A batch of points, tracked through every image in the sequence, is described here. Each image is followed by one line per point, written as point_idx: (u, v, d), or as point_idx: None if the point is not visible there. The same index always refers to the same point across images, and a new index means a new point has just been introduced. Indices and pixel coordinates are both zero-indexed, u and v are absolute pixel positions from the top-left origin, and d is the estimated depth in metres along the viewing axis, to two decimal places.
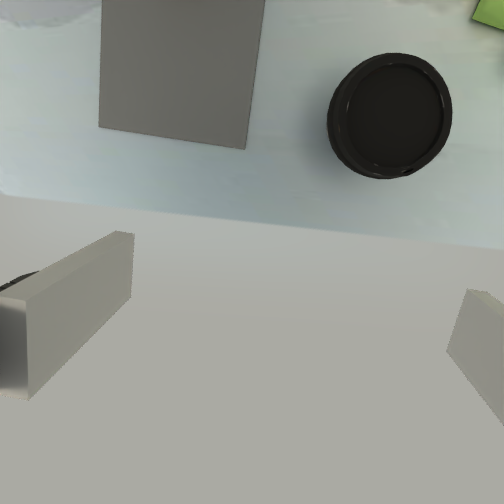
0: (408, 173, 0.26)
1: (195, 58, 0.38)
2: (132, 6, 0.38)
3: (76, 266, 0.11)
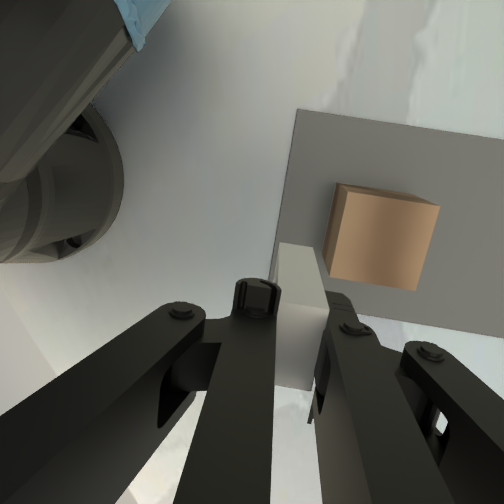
0: None
1: (480, 219, 0.31)
2: None
3: (296, 275, 0.13)
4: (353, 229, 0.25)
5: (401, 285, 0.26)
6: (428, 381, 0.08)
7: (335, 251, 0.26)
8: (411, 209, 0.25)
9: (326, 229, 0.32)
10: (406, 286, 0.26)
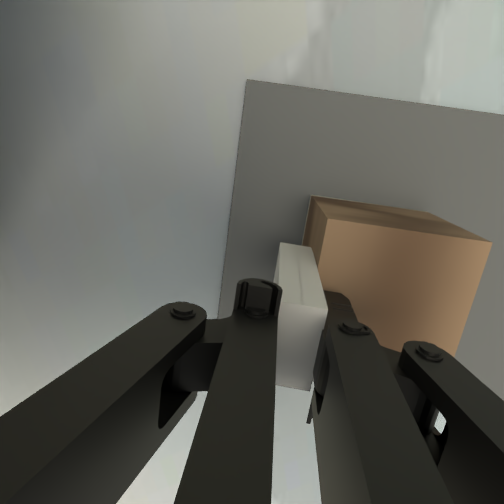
0: None
1: None
2: None
3: (297, 275, 0.13)
4: (338, 283, 0.14)
5: None
6: (427, 381, 0.08)
7: None
8: (441, 248, 0.14)
9: None
10: None
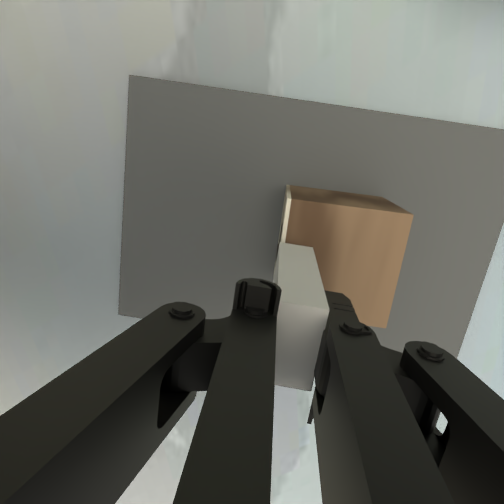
0: None
1: None
2: None
3: (296, 275, 0.13)
4: None
5: None
6: (428, 381, 0.08)
7: (392, 294, 0.19)
8: None
9: None
10: None
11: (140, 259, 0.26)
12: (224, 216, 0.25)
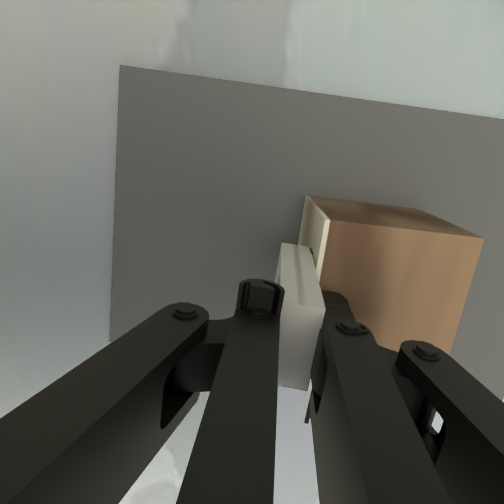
0: None
1: None
2: None
3: (299, 275, 0.13)
4: None
5: None
6: (424, 380, 0.08)
7: (452, 336, 0.15)
8: None
9: None
10: None
11: (134, 279, 0.23)
12: (231, 231, 0.21)
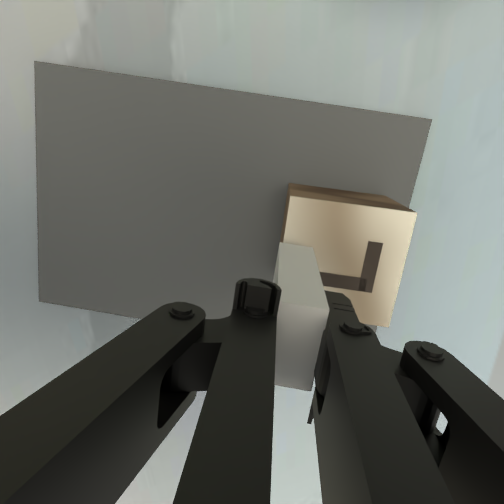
0: None
1: (277, 202, 0.24)
2: (207, 289, 0.26)
3: (296, 275, 0.13)
4: None
5: None
6: (428, 381, 0.08)
7: None
8: None
9: None
10: None
11: (57, 246, 0.26)
12: (136, 202, 0.25)
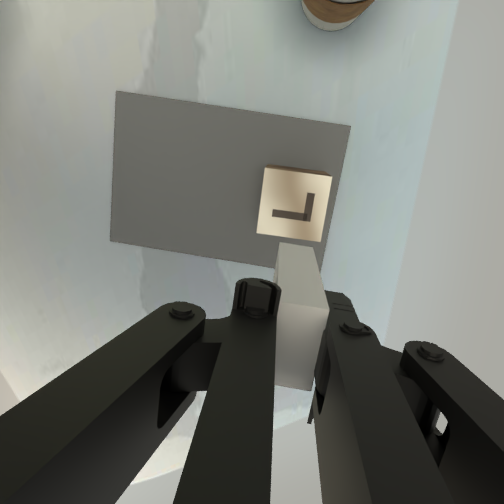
0: None
1: (261, 176, 0.40)
2: (217, 231, 0.42)
3: (296, 275, 0.13)
4: None
5: None
6: (428, 381, 0.08)
7: None
8: None
9: (324, 219, 0.35)
10: None
11: (123, 204, 0.42)
12: (174, 176, 0.41)
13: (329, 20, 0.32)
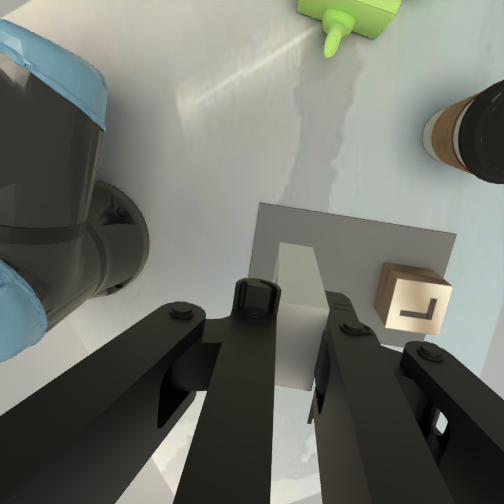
0: None
1: (377, 271, 0.48)
2: None
3: (296, 275, 0.13)
4: None
5: None
6: (428, 381, 0.08)
7: None
8: None
9: None
10: None
11: None
12: None
13: None
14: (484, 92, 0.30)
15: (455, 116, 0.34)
